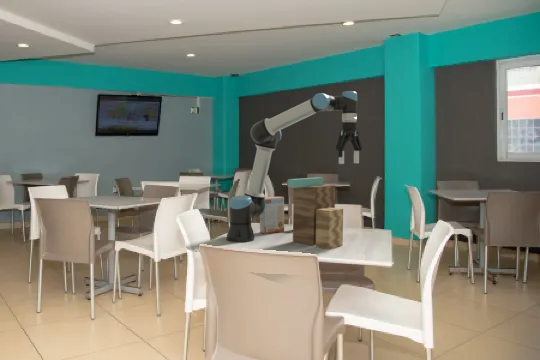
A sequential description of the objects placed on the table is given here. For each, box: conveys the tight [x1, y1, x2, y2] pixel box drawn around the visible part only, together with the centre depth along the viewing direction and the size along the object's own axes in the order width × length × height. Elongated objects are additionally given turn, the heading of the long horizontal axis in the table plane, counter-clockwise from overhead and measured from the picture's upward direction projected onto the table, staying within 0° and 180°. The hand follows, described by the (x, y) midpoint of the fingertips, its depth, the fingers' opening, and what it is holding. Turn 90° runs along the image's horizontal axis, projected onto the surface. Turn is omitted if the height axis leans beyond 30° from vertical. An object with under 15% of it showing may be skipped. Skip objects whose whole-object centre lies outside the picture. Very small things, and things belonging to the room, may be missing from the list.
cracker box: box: [259, 196, 285, 235], centre depth 287 cm, size 14×6×21 cm, turn 123°
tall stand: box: [292, 184, 336, 246], centre depth 259 cm, size 18×14×30 cm
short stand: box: [315, 207, 344, 250], centre depth 246 cm, size 12×8×19 cm, turn 136°
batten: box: [287, 177, 324, 189], centre depth 253 cm, size 24×4×4 cm, turn 136°
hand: (348, 163), depth 249 cm, fingers open, 13 cm apart
